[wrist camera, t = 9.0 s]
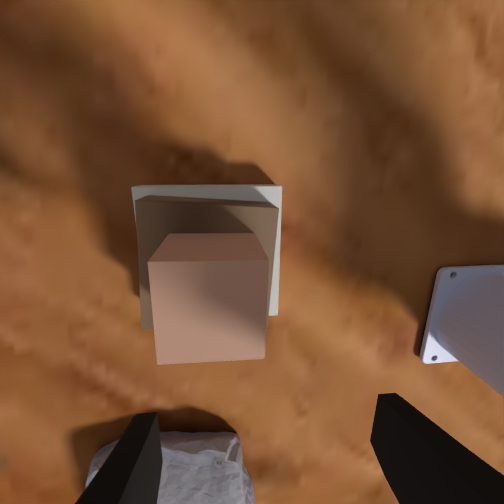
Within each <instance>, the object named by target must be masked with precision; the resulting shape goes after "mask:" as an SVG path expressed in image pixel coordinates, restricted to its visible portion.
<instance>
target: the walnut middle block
mask: <svg viewBox="0 0 504 504" xmlns="http://www.w3.org/2000/svg"><path fill="white" fill-rule="evenodd" d="M135 212H136V231H137V250H138V269H139V288H140V307H141V326H142V329H154V324H153V313H152V303H151V292H150V282H149V271H148V261H149V259H150V258H151V257H152V255H153V254H154V253H155V252H156V250H157V249H158V248H159V246H160V245H161V244H162V242H163V241H164V240H165V238H166V237H167V236H168V234H178V233H255V234H256V236H257V238H258V240H259V242H260V244H261V246H262V248H263V249H264V251H265V253H266V255H267V257H268V259H269V274H268V298H267V322H266V329H267V326H268V316H269V306H270V296H271V285H272V275H273V265H274V255H275V245H276V234H277V224H278V214H279V208H278V207H276V206H275V205H273V204H272V203H271V202H262V201H245V200H228V199H210V198H193V197H176V196H159V195H147V196H145V197H142V198H140V199H137V200H135Z"/></svg>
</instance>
